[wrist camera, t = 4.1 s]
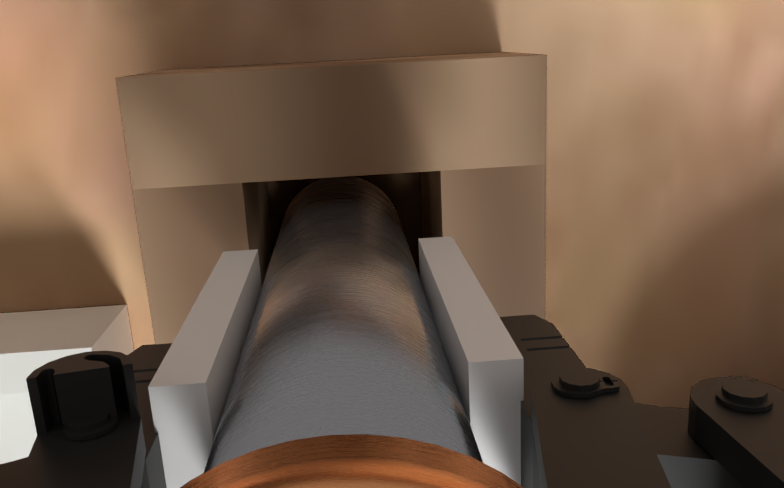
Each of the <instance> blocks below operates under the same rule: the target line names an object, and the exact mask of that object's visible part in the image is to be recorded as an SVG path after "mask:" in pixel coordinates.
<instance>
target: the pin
mask: <svg viewBox="0 0 784 488" xmlns="http://www.w3.org/2000/svg"><path fill="white" fill-rule="evenodd" d="M180 488H524V487H522V486H521V485H519V484H518V483H516V482H515V481H514V480H512V479H511V478H509V477H508V476H506V475H505V474H503V473H502V472H500V471H498V470H496V469H494V468H492V467H490V466H488V465H486V464H484V463H483V460H482V457H481V455H480V452H479V449H478V446H477V443H476V440H475V437H474V434H473V431H472V428H471V426H470V423H469V420H468V417H467V414H466V411H465V408H464V405H463V402H462V399H461V397H460V394H459V391H458V388H457V385H456V382H455V379H454V376H453V373H452V370H451V368H450V365H449V362H448V359H447V356H446V353H445V350H444V347H443V344H442V341H441V338H440V336H439V333H438V330H437V327H436V324H435V321H434V318H433V315H432V312H431V309H430V307H429V304H428V301H427V298H426V295H425V292H424V289H423V286H422V283H421V280H420V278H419V275H418V272H417V269H416V266H415V263H414V260H413V257H412V254H411V251H410V248H409V246H408V243H407V240H406V237H405V234H404V231H403V228H402V225H401V222H400V219H399V217H398V214H397V211H396V209H395V207H394V205H393V204H392V202H391V201H390V199H389V198H388V197H387V195H386V194H385V193H384V192H383V191H382V190H380V189H379V188H378V187H376V186H375V185H373V184H372V183H370V182H368V181H366V180H363V179H361V178H357V177H353V176H346V177H330V178H322V179H320V180H317V181H315V182H313V183H311V184H309V185H308V186H306V187H305V188H304V189H302V190H301V191H300V192H299V193H298V194H297V195H296V196H295V198H294V199H293V200H292V202H291V203H290V205H289V207H288V209H287V211H286V214H285V216H284V219H283V223H282V226H281V229H280V232H279V235H278V238H277V242H276V245H275V248H274V251H273V254H272V257H271V261H270V264H269V267H268V270H267V273H266V276H265V280H264V283H263V286H262V289H261V292H260V296H259V299H258V302H257V305H256V308H255V311H254V315H253V318H252V321H251V324H250V327H249V330H248V334H247V337H246V340H245V343H244V346H243V350H242V353H241V356H240V359H239V362H238V365H237V369H236V372H235V375H234V378H233V381H232V384H231V388H230V391H229V394H228V397H227V400H226V404H225V407H224V410H223V413H222V416H221V419H220V423H219V426H218V429H217V432H216V435H215V438H214V442H213V445H212V448H211V451H210V454H209V458H208V461H207V464H206V467H205V470H204V473H203V474H201V475H199V476H197V477H196V478H194V479H192V480H190V481H189V482H187V483H186V484H185V485H183V486H182V487H180Z"/></svg>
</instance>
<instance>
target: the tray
mask: <svg viewBox="0 0 784 488" xmlns="http://www.w3.org/2000/svg"><path fill="white" fill-rule="evenodd" d="M105 350H106V351H115V352H121V353H123V354H125V355H128V354H130V353H131V352H133V351H134V348H133V342H132V335H131V329H130V323H129V316H128V310H127V305H114V306H100V307H85V308H71V309H56V310H41V311H27V312H12V313H0V464H3V463H8V462H12V461H15V460H19V459H22V458H25V457H28V456H29V454H30V452H31V449H32V447H33V444H34V442H35V440H36V437H37V432H36V427H35V422H34V417H33V412H32V407H31V402H30V397H29V392H28V387H27V382H26V378H27V377H28V376H29V375H30V374H31V373H32V372H33V371H34V370H35V369H37V368H39V367H41V366H43V365H45V364H46V363H48V362H51V361H54V360H57V359H59V358H62V357H65V356H69V355H74V354H78V353H83V352H91V351H105Z"/></svg>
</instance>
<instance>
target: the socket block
mask: <svg viewBox="0 0 784 488" xmlns="http://www.w3.org/2000/svg"><path fill="white" fill-rule="evenodd" d="M546 84H547V55H542V54H527V53H512V52H491V53H472V54H453V55H434V56H416V57H397V58H378V59H359V60H341V61H322V62H303V63H284V64H266V65H247V66H228V67H210V68H191V69H172V70H162V71H156V72H150V73H143V74H137V75H131V76H125V77H119V78H116V85H117V91H118V98H119V105H120V112H121V118H122V125H123V132H124V138H125V145H126V152H127V159H128V165H129V172H130V179H131V186H132V192H133V199H134V206H135V212H136V219H137V226H138V233H139V239H140V246H141V253H142V260H143V266H144V273H145V280H146V286H147V293H148V300H149V307H150V313H151V320H152V327H153V334H154V340H155V344H167V343H173V341H174V339H175V338H176V336H177V334H178V332H179V330H180V329H181V327H182V325H183V323H184V321H185V320H186V318H187V316H188V314H189V312H190V310H191V309H192V307H193V305H194V303H195V301H196V300H197V298H198V296H199V294H200V292H201V291H202V289H203V287H204V285H205V283H206V282H207V280H208V278H209V276H210V274H211V273H212V271H213V269H214V267H215V265H216V264H217V262H218V260H219V258H220V256H221V255H222V253H223V252H226V251H240V250H255V249H258V255H259V265H260V274H261V284H262V286H263V283H264V280H265V276H266V273H267V270H268V267H269V264H270V261H271V257H272V254H273V243H272V233H271V223H270V212H269V202H268V192H267V182H266V181H280V180H297V179H313V178H330V177H346V176H362V175H379V174H395V173H411V172H421V186H422V211H423V236H424V238H434V237H449V236H452V237H453V239H454V240H455V242H456V244H457V246H458V247H459V249H460V251H461V252H462V254H463V256H464V258H465V259H466V261H467V263H468V264H469V266H470V268H471V269H472V271H473V273H474V275H475V276H476V278H477V280H478V281H479V283H480V285H481V287H482V288H483V290H484V292H485V293H486V295H487V297H488V299H489V300H490V302H491V304H492V305H493V307H494V309H495V310H496V312H497V314H498V316H499V317H506V316H519V315H533V314H534V315H536V316H538V317H540V318H542V319H544V320H545V233H546Z"/></svg>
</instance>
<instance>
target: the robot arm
mask: <svg viewBox="0 0 784 488" xmlns="http://www.w3.org/2000/svg"><path fill="white" fill-rule="evenodd" d="M418 245H419V268H420V280H421V283H422V286H423V289H424V292H425V295H426V298H427V301H428V304H429V307H430V309H431V312H432V315H433V318H434V321H435V324H436V327H437V330H438V333H439V336H440V338H441V341H442V344H443V347H444V350H445V353H446V356H447V359H448V362H449V365H450V368H451V370H452V373H453V376H454V379H455V382H456V385H457V388H458V391H459V394H460V397H461V399H462V402H463V405H464V408H465V411H466V414H467V417H468V420H469V423H470V426H471V428H472V431H473V434H474V437H475V440H476V443H477V446H478V449H479V452H480V455H481V457H482V460H483V463H484V464H486V465H488V466H490V467H492V468H494V469H496V470H498V471H500V472H502V473H503V474H505V475H506V476H508V477H509V478H511V479H512V480H514V481H515V482H516V483H518V484H519V485H521V486H522V487H524V488H784V391H783V390H781V389H779V388H777V387H776V386H773V385H770V384H766V383H763V382H760V381H759V380H757V379H754V378H748V377H745V379H743V377H741V376H730V377H725V378H712V379H708V380H703V381H700V382H699V383H697V384H696V385H694V386H693V387H692V388H691V393H690V403H689V409H682V408H670V407H659V406H651V405H643V404H639V403H635V402H634V401H633V398H632V396H631V394H630V391H629V389H628V387H627V386H626V385H625V384H624V383H623V382H622V380H621V379H619V378H617V377H615V376H613V375H611V374H609V373H606V372H602V371H598V370H595V369H590V368H586V367H585V365H584V364H583V363H582V362H581V360H580V359H579V358H578V356H577V355H576V354H575V352H574V351H573V350H572V348H569V344H568V343H567V342H566V341H565V339H564V338H562V335H561V334H560V333H559V331H558V330H557V329H556V327H555V326H554V325H553V324H552V323H550V322H548V321H546V320H544V319H542V318H540V317H538V316H536V315H534V314H533V315H519V316H506V317H499V316H498V314H497V312H496V310H495V309H494V307H493V305H492V304H491V302H490V300H489V299H488V297H487V295H486V293H485V292H484V290H483V288H482V287H481V285H480V283H479V281H478V280H477V278H476V276H475V275H474V273H473V271H472V269H471V268H470V266H469V264H468V263H467V261H466V259H465V258H464V256H463V254H462V252H461V251H460V249H459V247H458V246H457V244H456V242H455V240H454V239H453V237H452V236H449V237H434V238H419V239H418ZM261 289H262V284H261V274H260V265H259V255H258V249H255V250H240V251H226V252H223V253H222V255H221V256H220V258H219V260H218V262H217V264H216V265H215V267H214V269H213V271H212V273H211V274H210V276H209V278H208V280H207V282H206V283H205V285H204V287H203V289H202V291H201V292H200V294H199V296H198V298H197V300H196V301H195V303H194V305H193V307H192V309H191V310H190V312H189V314H188V316H187V318H186V320H185V321H184V323H183V325H182V327H181V329H180V330H179V332H178V334H177V336H176V338H175V339H174V341H173V343H167V344H154V345H142V346H141V347H139V348H138V349H136V350H135V351H133V352H131V353H130V354H128V355H125V354H123V353H121V352H115V351H106V350H105V351H91V352H83V353H78V354H74V355H69V356H65V357H62V358H59V359H57V360H54V361H51V362H48V363H46V364H45V365H43V366H41V367H39V368H37V369H35V370H34V371H33V372H32V373H31V374H30V375H29V376H28V377H27V378H26V382H27V387H28V392H29V397H30V402H31V407H32V412H33V417H34V422H35V427H36V432H37V437H36V440H35V442H34V444H33V447H32V449H31V452H30V454H29V456H28V457H25V458H22V459H19V460H15V461H12V462H8V463H3V464H0V488H180V487H182V486H183V485H185V484H186V483H187V482H189V481H190V480H192V479H194V478H196V477H197V476H199V475H201V474H203V473H204V470H205V467H206V464H207V461H208V458H209V454H210V451H211V448H212V445H213V442H214V438H215V435H216V432H217V429H218V426H219V423H220V419H221V416H222V413H223V410H224V407H225V404H226V400H227V397H228V394H229V391H230V388H231V384H232V381H233V378H234V375H235V372H236V369H237V365H238V362H239V359H240V356H241V353H242V350H243V346H244V343H245V340H246V337H247V334H248V330H249V327H250V324H251V321H252V318H253V315H254V311H255V308H256V305H257V302H258V299H259V296H260V292H261Z"/></svg>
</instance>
